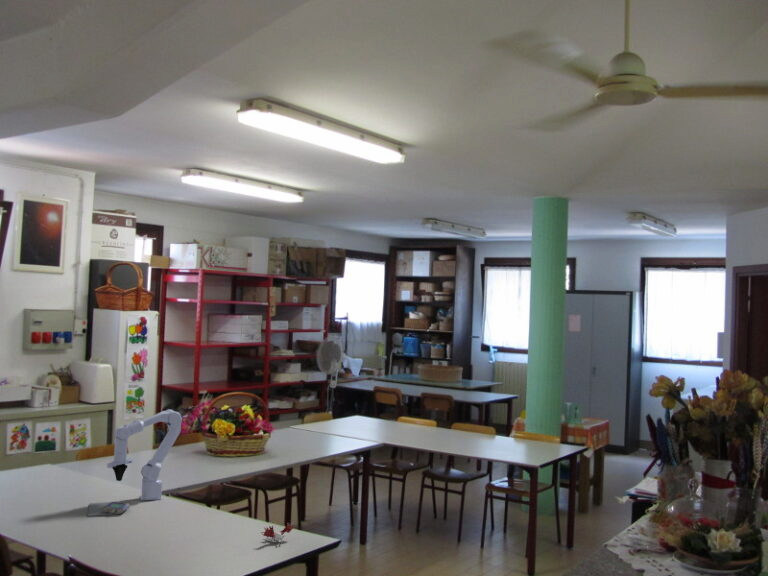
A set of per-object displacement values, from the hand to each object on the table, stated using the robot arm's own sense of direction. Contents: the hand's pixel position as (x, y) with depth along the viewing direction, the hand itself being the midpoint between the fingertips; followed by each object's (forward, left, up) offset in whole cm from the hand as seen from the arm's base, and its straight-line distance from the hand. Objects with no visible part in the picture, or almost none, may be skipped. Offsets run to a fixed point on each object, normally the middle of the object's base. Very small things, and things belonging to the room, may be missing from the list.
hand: (118, 480), depth 345 cm
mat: (+7, +11, -10) cm, 16 cm away
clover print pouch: (-1, +12, -8) cm, 15 cm away
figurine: (-60, +74, -11) cm, 96 cm away
